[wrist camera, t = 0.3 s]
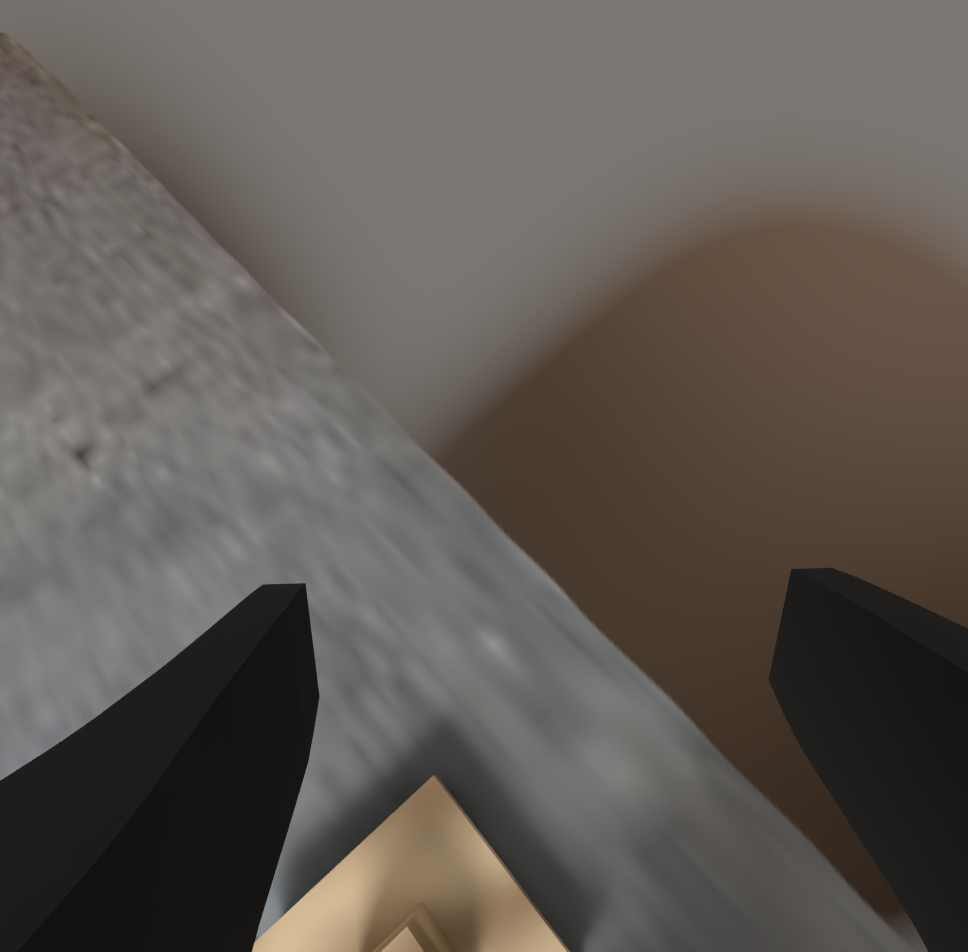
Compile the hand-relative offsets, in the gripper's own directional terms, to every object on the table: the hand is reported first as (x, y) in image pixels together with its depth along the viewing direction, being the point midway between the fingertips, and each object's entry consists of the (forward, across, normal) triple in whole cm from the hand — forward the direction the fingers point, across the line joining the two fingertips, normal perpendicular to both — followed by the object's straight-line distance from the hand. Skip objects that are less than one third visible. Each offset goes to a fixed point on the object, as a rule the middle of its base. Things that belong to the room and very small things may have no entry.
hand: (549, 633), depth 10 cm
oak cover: (+12, +4, +28) cm, 31 cm away
